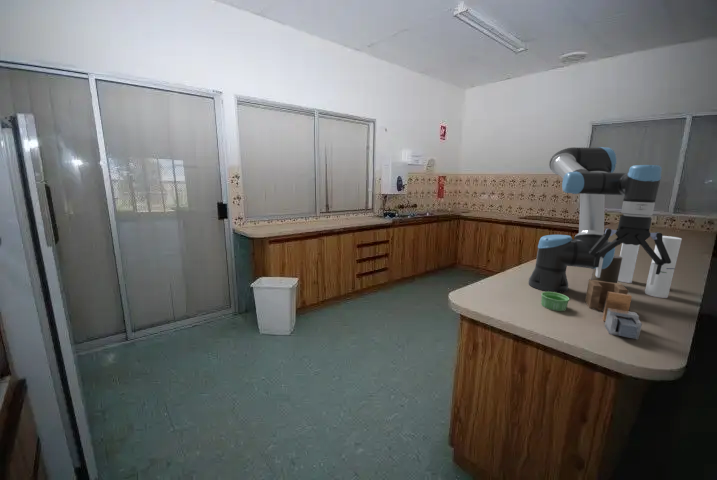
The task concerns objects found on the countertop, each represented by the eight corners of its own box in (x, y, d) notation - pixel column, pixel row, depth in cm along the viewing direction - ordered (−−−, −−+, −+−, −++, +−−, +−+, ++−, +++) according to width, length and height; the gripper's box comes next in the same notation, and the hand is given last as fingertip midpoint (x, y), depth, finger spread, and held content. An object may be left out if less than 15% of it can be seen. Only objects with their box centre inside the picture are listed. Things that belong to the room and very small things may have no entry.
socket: (589, 308, 115) (593, 285, 114) (585, 300, 122) (589, 279, 121) (623, 314, 111) (628, 290, 109) (616, 306, 118) (621, 283, 116)
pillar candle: (613, 288, 137) (620, 256, 134) (587, 282, 145) (593, 251, 142) (618, 284, 143) (625, 253, 140) (593, 279, 151) (599, 249, 148)
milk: (630, 280, 150) (640, 236, 145) (631, 283, 145) (641, 238, 141) (614, 277, 154) (624, 234, 149) (614, 280, 149) (624, 236, 144)
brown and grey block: (614, 337, 93) (620, 307, 91) (598, 313, 111) (603, 286, 109) (639, 343, 91) (647, 311, 88) (619, 316, 108) (625, 289, 106)
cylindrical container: (672, 298, 127) (686, 239, 122) (652, 296, 129) (665, 238, 124) (659, 292, 134) (672, 236, 129) (640, 290, 136) (653, 235, 130)
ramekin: (538, 300, 122) (539, 290, 121) (564, 304, 118) (566, 293, 117) (541, 309, 114) (543, 298, 113) (570, 313, 110) (572, 302, 109)
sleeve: (609, 333, 96) (613, 315, 95) (604, 325, 101) (608, 308, 100) (638, 339, 93) (642, 320, 92) (631, 331, 98) (635, 312, 97)
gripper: (590, 213, 99) (579, 276, 103) (696, 219, 88) (679, 290, 92) (585, 211, 106) (575, 271, 110) (683, 217, 95) (668, 283, 99)
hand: (622, 280), depth 101 cm, fingers open, 13 cm apart
